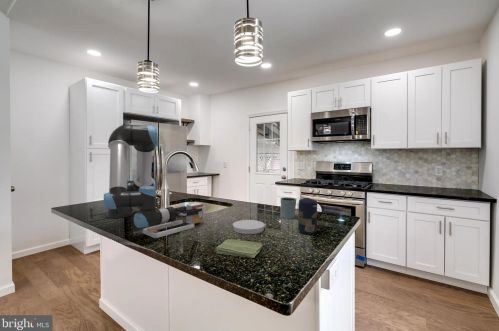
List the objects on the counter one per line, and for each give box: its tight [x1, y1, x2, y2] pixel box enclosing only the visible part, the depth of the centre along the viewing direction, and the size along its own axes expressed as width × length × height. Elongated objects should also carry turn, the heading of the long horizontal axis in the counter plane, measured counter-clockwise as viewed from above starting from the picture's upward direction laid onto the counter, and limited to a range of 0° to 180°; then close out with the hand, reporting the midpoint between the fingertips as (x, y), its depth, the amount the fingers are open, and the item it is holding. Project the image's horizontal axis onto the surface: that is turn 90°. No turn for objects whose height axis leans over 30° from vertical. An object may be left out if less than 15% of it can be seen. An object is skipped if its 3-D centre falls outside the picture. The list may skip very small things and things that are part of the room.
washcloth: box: [214, 238, 264, 259], centre depth 102 cm, size 13×18×3 cm
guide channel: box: [142, 219, 195, 239], centre depth 128 cm, size 12×23×2 cm, turn 140°
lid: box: [232, 219, 267, 235], centre depth 132 cm, size 17×20×3 cm
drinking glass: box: [280, 196, 297, 220], centre depth 156 cm, size 10×10×12 cm
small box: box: [185, 202, 204, 225], centre depth 140 cm, size 8×6×10 cm
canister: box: [297, 197, 318, 235], centre depth 126 cm, size 10×10×18 cm
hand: (201, 207), depth 144 cm, fingers closed on small box, 6 cm apart
